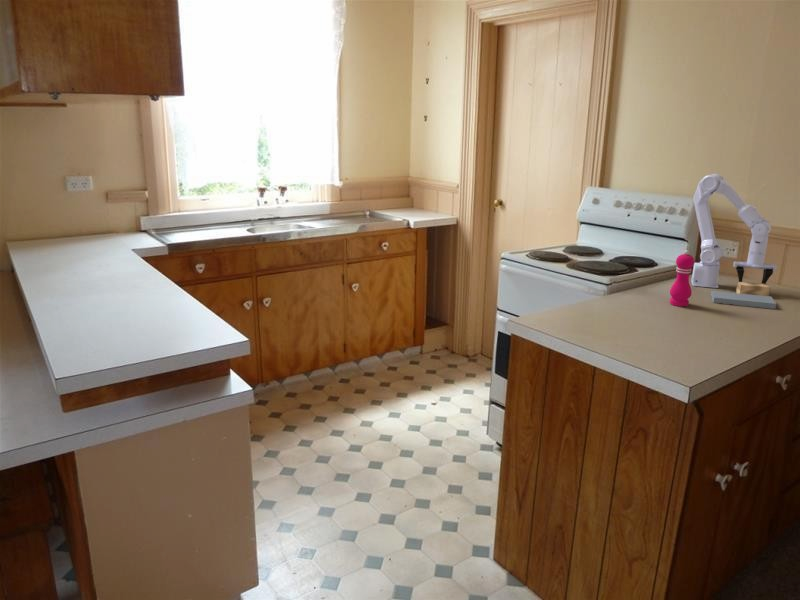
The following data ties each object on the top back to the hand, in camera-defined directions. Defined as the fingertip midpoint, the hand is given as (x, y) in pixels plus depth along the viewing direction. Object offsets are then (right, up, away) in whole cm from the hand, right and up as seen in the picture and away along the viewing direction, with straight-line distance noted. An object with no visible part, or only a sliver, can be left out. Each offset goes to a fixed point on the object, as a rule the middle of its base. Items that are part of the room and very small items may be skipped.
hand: (751, 286), depth 244 cm
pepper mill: (-35, -7, -17) cm, 40 cm away
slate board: (-11, -6, -13) cm, 18 cm away
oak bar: (-2, -4, -3) cm, 5 cm away
